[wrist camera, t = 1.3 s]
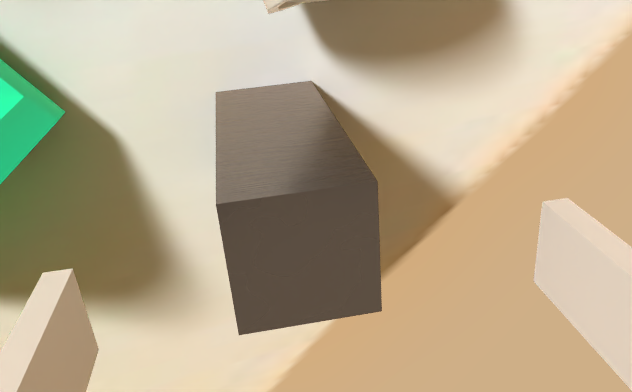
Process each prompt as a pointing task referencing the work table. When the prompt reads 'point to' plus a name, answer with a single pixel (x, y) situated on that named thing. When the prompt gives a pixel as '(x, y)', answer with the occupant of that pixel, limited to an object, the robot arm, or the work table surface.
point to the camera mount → (21, 118)
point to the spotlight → (284, 4)
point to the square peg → (294, 210)
